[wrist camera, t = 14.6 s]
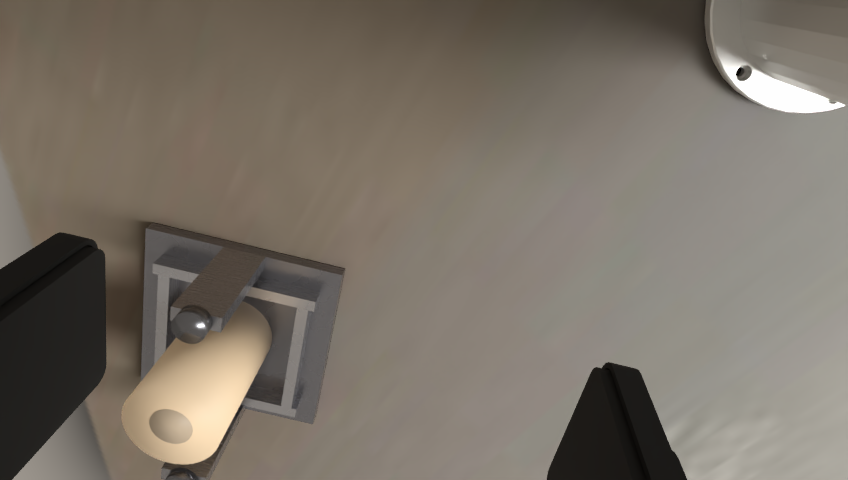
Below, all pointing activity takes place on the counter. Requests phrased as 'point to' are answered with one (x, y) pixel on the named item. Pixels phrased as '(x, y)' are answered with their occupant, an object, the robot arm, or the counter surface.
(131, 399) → the paper roll
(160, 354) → the stand
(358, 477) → the counter surface
